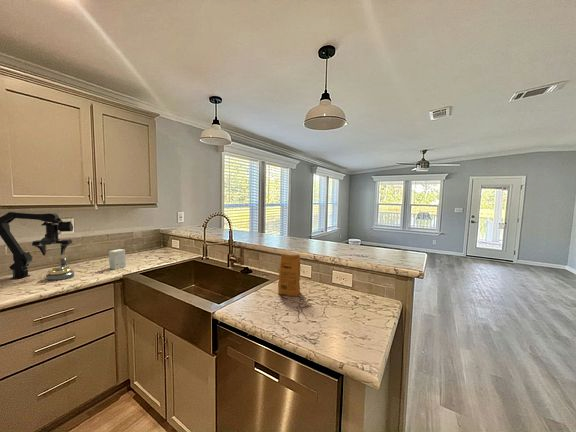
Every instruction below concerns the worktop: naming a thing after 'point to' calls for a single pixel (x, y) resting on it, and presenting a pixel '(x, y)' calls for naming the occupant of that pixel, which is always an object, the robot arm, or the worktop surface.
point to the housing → (59, 277)
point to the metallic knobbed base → (60, 268)
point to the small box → (117, 259)
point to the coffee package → (289, 275)
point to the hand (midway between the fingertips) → (53, 255)
